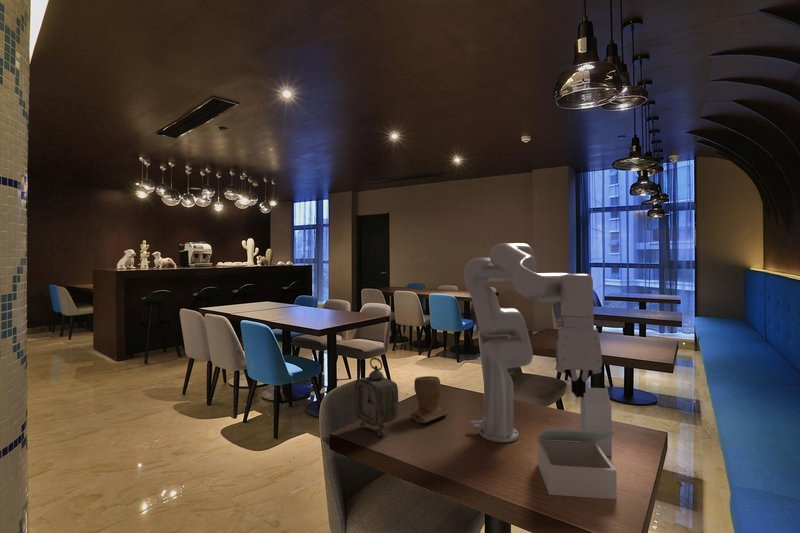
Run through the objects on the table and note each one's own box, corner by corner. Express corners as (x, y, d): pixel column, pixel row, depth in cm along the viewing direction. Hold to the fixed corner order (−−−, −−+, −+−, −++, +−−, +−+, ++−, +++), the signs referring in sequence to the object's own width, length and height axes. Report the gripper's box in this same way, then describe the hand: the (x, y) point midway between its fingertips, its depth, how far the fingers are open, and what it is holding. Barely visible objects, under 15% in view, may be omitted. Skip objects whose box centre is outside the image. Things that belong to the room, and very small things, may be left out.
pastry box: (549, 494, 102) (548, 466, 102) (537, 464, 118) (537, 439, 118) (616, 499, 100) (616, 470, 100) (596, 467, 115) (596, 442, 115)
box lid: (546, 430, 104) (546, 428, 104) (537, 439, 118) (537, 437, 118) (613, 434, 102) (613, 431, 102) (596, 442, 115) (595, 440, 116)
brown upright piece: (428, 408, 164) (428, 370, 164) (452, 416, 156) (452, 376, 156) (401, 418, 153) (401, 378, 153) (425, 427, 145) (425, 384, 145)
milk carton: (612, 457, 122) (611, 392, 122) (586, 455, 123) (585, 391, 123) (605, 446, 129) (604, 385, 129) (580, 444, 130) (580, 384, 130)
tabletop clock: (355, 426, 146) (354, 356, 146) (376, 420, 152) (375, 352, 152) (379, 440, 135) (378, 363, 135) (400, 433, 140) (400, 359, 140)
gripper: (549, 324, 102) (550, 399, 102) (614, 324, 100) (615, 401, 100) (543, 320, 109) (544, 390, 109) (603, 321, 107) (605, 392, 107)
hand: (578, 395), depth 104 cm, fingers closed
